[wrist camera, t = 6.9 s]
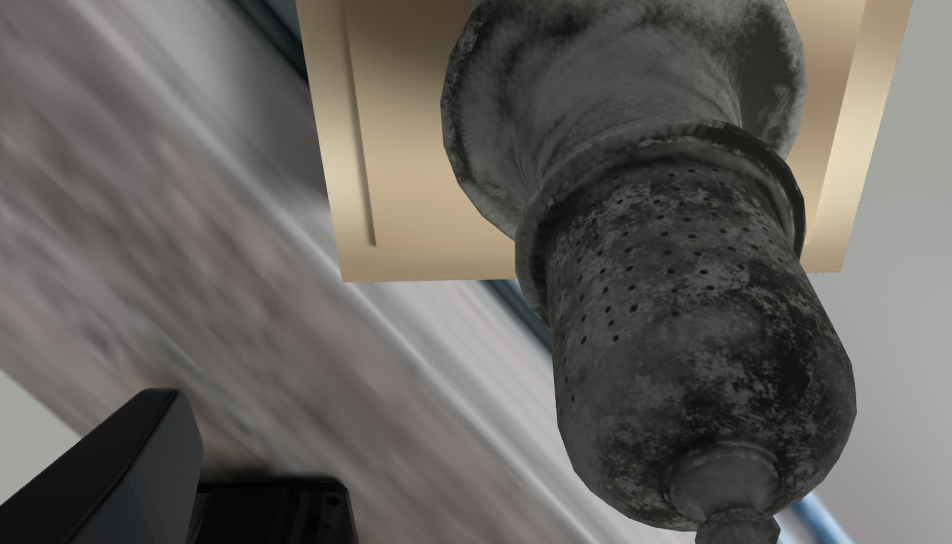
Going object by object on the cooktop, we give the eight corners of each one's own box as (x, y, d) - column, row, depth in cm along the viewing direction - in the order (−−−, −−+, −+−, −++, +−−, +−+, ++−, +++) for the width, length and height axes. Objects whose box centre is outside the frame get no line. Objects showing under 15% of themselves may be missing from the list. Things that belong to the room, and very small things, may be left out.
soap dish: (802, 207, 22) (843, 278, 19) (359, 217, 23) (341, 288, 20) (926, -353, 15) (1017, -359, 12) (281, -320, 16) (237, -320, 13)
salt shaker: (394, 74, 17) (249, 620, 7) (575, -197, 14) (758, 90, 4) (615, 217, 19) (745, 806, 9) (816, 4, 16) (1335, 530, 6)
